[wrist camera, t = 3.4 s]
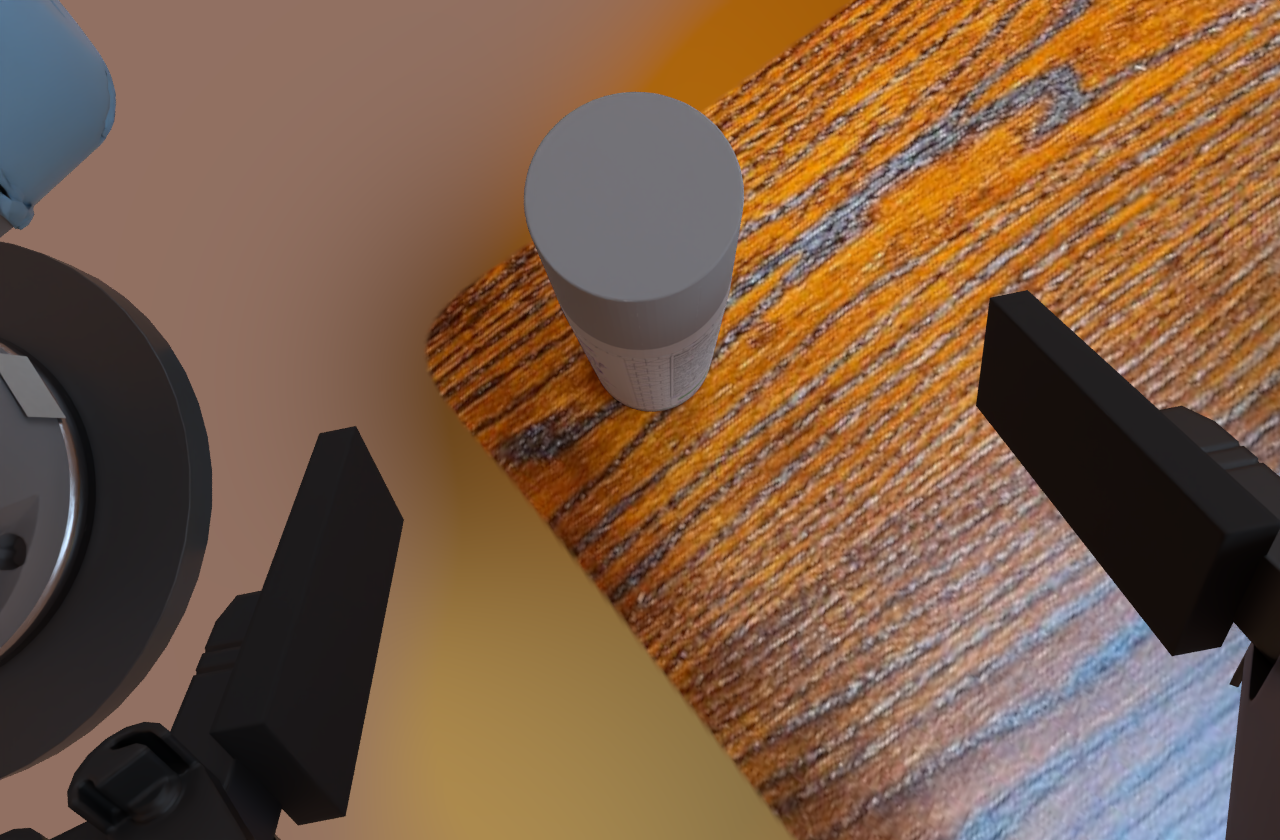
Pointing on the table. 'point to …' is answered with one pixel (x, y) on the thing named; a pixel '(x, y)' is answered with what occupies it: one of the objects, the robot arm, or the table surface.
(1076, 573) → the table surface
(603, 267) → the container
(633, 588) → the table surface
